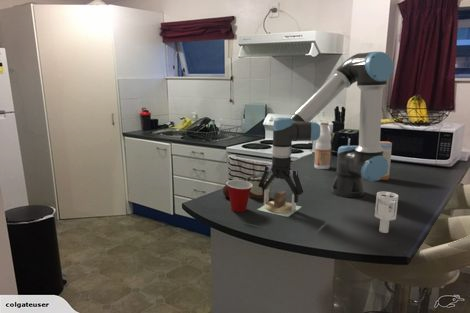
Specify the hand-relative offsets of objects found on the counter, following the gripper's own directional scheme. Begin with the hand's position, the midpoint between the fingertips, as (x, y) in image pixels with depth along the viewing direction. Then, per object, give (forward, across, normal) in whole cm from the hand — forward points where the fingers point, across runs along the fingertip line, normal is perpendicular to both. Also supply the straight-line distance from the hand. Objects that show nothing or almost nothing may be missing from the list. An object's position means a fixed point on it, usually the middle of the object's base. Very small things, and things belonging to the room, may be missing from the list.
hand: (279, 206), depth 151 cm
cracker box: (+1, -22, -75) cm, 78 cm away
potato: (+2, +25, -2) cm, 25 cm away
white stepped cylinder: (+1, -41, -1) cm, 41 cm away
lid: (+1, 0, 0) cm, 1 cm away
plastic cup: (+1, +13, +11) cm, 17 cm away
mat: (+1, 0, 0) cm, 1 cm away
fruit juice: (+1, +11, -83) cm, 84 cm away
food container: (+1, +14, -9) cm, 17 cm away
